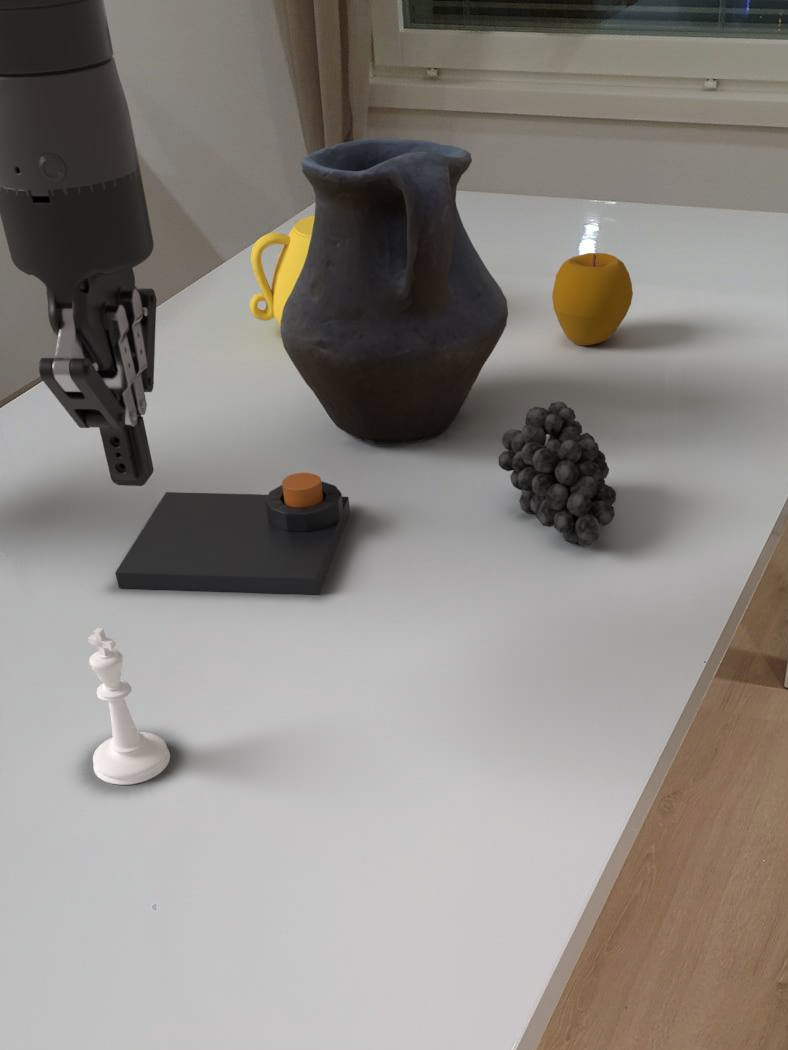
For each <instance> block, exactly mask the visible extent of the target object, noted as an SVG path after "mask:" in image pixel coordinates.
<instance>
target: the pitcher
mask: <svg viewBox="0 0 788 1050" xmlns="http://www.w3.org/2000/svg"><path fill="white" fill-rule="evenodd" d="M472 159H473V158H472V155H471V152H469V151H468V150H466V149H464V148H462V147H458V146H455V145H449V144H448V145H447V144H440V143H438V142H434V141H430V140H422V139H409V138H408V139H406V138H389V137H376V138H375V137H374V138H364V139H359V140H353V141H351V140H350V141H345V142H342V143H338V144H335V145H332V146H328V147H323V148H321V149H318V150H316V151H313V152H311V153H310V154H308V155H306V156H305V157H304V158H303V159H302V160H301V162H300V163H301V169H302V170H301V171H302V173H303V175H304V176H305V178H306V179H307V181H308V183H309V184H310V185H311V187H312V189H313V192H314V197H315V202H314V203H315V204H314V215H315V218H314V224H313V229H312V235H311V240H310V244H309V249H308V253H307V257H306V260H305V263H304V266H303V268H302V270H301V272H300V275H299V277H298V279H297V281H296V283H295V285H294V288H293V290H292V292H291V294H290V296H289V297H288V299H287V301H286V303H285V306H284V308H283V313H282V317H281V326H280V337H281V342H282V344H283V348H284V350H285V353H286V354H287V356H288V357H289V358H290V360H291V362H292V364H293V366H294V367H295V369H296V371H297V372H298V373H299V375H300V376H301V378H302V380H303V381H304V383H305V384H306V385H307V386H308V388H310V390H311V391H312V392H313V394H314V396H315V397H316V399H317V400H318V401H319V403H320V405H321V406H322V408H323V409H324V410H325V412H326V414H327V415H328V417H329V419H330V420H331V421H332V422H333V423H334V425H335V426H336V427H337V428H338V429H340V430H341V431H343V432H344V433H347V434H348V435H351V436H353V437H355V438H357V439H359V440H361V441H368V442H369V441H370V442H372V443H376V444H400V443H401V444H402V443H413V442H419V441H424V440H429V439H430V440H431V439H433V438H438V437H439V436H441V435H442V434H443V433H444V432H446V431H447V430H448V429H449V427H450V426H451V425H452V423H453V422H454V420H455V419H456V418H457V416H458V415H459V414H460V411H461V410H462V407H464V406H463V405H464V404H465V402H466V400H467V398H468V397H469V395H470V392H471V390H472V388H473V386H474V384H476V381H477V380H478V377H479V375H480V373H481V370H482V369H483V367H484V365H485V364H486V362H487V361H488V360H489V358H490V356H491V355H492V353H493V351H494V349H495V348H496V346H497V345H498V342H499V341H500V339H501V337H502V335H503V334H504V331H505V329H506V327H507V322H508V316H509V308H508V300H507V298H506V296H505V294H504V292H503V290H502V288H501V286H500V285H499V284H498V282H497V281H496V279H495V278H494V277H493V276H492V274H491V273H490V271H489V270H488V268H487V266H486V265H485V263H484V261H483V260H482V258H481V256H480V254H479V253H478V251H477V250H476V247H475V246H474V244H473V241H472V240H471V238H470V236H469V234H468V232H467V230H466V228H465V226H464V224H463V221H462V218H461V216H460V212H459V210H458V206H457V201H456V200H457V189H458V188H457V186H458V184H459V182H460V180H461V177H462V176H463V174H465V173H466V171H467V170H468V169H469V167H470V166H471V164H472V161H473V160H472Z"/></svg>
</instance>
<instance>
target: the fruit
mask: <svg viewBox="0 0 788 1050" xmlns="http://www.w3.org/2000/svg"><path fill="white" fill-rule="evenodd" d="M576 419H577V415H576V412H575V410H574V409H573V408H571V407H569V406H568V405H567V404H566V403H565V402H563V401H555V402H551V403H550V405H549V407H548V408H546V407H539V406H533V407H532V408H530V409H528V410H527V412H526V414H525V424H524V425H523V427H522V430H520V429H512V428H511V429H507V431H505V432H504V434H503V435H502V437H501V443H502V446H503V447H504V448H505V450H504V451H503V450H502V452H501V453H500V454H499V456H498V457H497V460H498V466H499V467H500V468H501V469H502V470H505V471H507V472H511V474H510V476H509V478H510V482H511V484H512V486H513V487H514V488H516V489H517V490H519V491H521V495H520V497H519V500H518V502H519V505H520V509H521V510H522V511H523V512H526V513H527V514H535V515H536V518H537V519H538V521H539V523H540V524H541V526H544V527H547V528H548V527H549V528H551V527H554V529H555V530H556V531H557V532H559V533H560V534H562V537H563V539H564V541H566V542H569V543H571V544H574V543H578V544H579V545H580V546H587V547H590V546H592V545H593V544H595V543H596V542H597V541H598V540H599V537H600V533H599V532H600V528H601V526H602V527H605V526H607V525H609V524H611V523H612V522H613V520H614V518H615V516H616V513H615V507H614V506H613V505H614V504H615V503H616V501H617V491H616V490H615V489H614V487H613V486H611V485H609V484H606V481H605V480H606V479H607V477H608V476H609V472H610V468H609V464H608V463H607V461H606V459H607V457H606V455H605V454H604V452H603V451H602V450H600V448H599V443H597V442H596V439H595V438H594V435H592V434H591V433H589V432H584V433H583V425H582V424H581V422H580V421H579V420H576ZM547 435H548V436H549V437H548V438H547Z"/></svg>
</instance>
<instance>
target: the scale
mask: <svg viewBox="0 0 788 1050" xmlns="http://www.w3.org/2000/svg"><path fill="white" fill-rule="evenodd" d="M321 482H322V491H323V501H322V502H321V503H319V504H317V505H314V506H309V507H291V506H288V505H286V504H285V502H284V494H283V487H282V484H281V485H279V486H277V487H276V488H274V489H272V490H270V491H269V492H268V494H258V493H256V494H255V493H254V494H253V493H220V492H219V493H217V492H214V493H213V492H182V491H181V492H178V491H166V492H165V493H164V495H163V496H162V498H161V500H160V501H159V502H158V504H157V506H156V507H155V509H154V510H153V512H152V513H151V515H150V516H149V518H148V520H147V522H146V523H145V525H144V526H143V528H142V529H141V531H140V533H139V534H138V535H137V537H136V538H135V540H134V542H133V543H132V545H131V546H130V548H129V550H128V551H127V553H126V554H125V556H124V558H123V559H122V561H121V563H119V566H118V567H117V568H116V570H115V572H114V573H115V577H116V582H117V586H118V588H119V589H133V590H135V589H136V590H139V589H140V590H163V591H164V590H165V591H166V590H167V591H194V592H196V591H197V592H198V591H199V592H229V593H254V594H255V593H257V594H259V593H260V594H287V595H290V594H291V595H319V593H320V590H321V588H322V586H323V583H324V580H325V579H326V575H327V573H328V570H329V567H330V564H331V562H332V560H333V556H334V554H335V551H336V549H337V547H338V544H339V541H340V539H341V537H342V534H343V532H344V528H345V526H346V524H347V520H348V518H349V516H350V512H351V509H350V508H351V507H350V497H349V496H343V494H342V492H341V491H340V490H339V489H338V487H337V486H336V485H334V484H331V483H329V482H326V481H323V480H321Z"/></svg>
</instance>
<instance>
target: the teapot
mask: <svg viewBox="0 0 788 1050" xmlns="http://www.w3.org/2000/svg"><path fill="white" fill-rule="evenodd" d="M314 218H315V214H311V215H309V216H305V217H304V218H301V219H299V220H298V221H297V222H296V223H295V224H294V225H293V226H292V228H291V230H290V231H289V234H285V233H281V232H269V233H267V234H264V235H263V236H261V237H259V239H257V240H256V242H254V244H253V247H252V248H251V252H250V262H251V267H252V270H253V273H254V276H255V279H256V282H257V284H258V286H259V288H260V291H261V293H256V294H254V295H253V296H252V297H251V299H250V301H249V311H250V313H251V315H252V316H253V318H255V319H257V320H260V321H262V322H263V321H267V322H268V321H270V320H272V319H273V318H274V319H275V321H276V323H277V324H278V325H279V326H280V327H281V317H282V313H283V308H284V306H285V303H286V301H287V299H288V297H289V296H290V294H291V292H292V290H293V288H294V285H295V283H296V281H297V279H298V277H299V275H300V272H301V270H302V268H303V266H304V263H305V260H306V257H307V253H308V249H309V244H310V240H311V235H312V229H313V224H314ZM272 245H283V246H282V248H281V251H280V253H279V255H278V258H277V261H276V264H275V268H274V271H273V275H272V280H271V286H270V283H269V282H268V279H267V277H266V274H265V271H264V267H263V263H262V255H263V252H264V250H265V249H267V248H268V247H269V246H270V247H271V246H272ZM259 302H265V304H266V305H265V308H264V309H260V308H259V307H258V304H259Z"/></svg>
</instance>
